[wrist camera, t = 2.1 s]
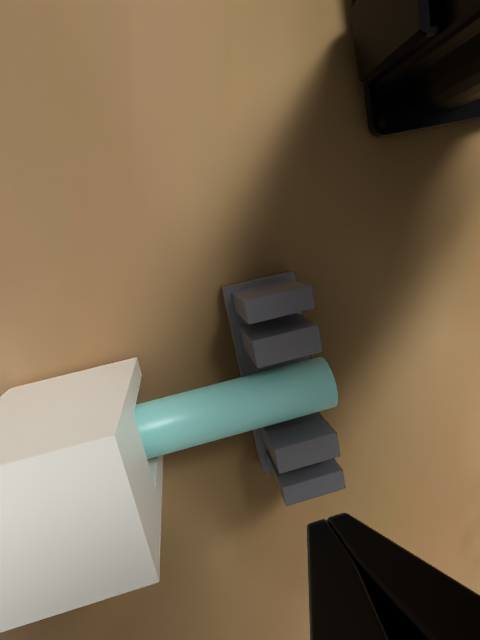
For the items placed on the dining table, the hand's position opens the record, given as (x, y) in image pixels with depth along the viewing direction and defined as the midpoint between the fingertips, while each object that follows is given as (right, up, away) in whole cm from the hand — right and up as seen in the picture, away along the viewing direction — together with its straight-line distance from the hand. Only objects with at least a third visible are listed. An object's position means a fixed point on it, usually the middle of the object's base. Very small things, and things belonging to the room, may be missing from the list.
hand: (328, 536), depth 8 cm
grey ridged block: (0, +2, +10) cm, 10 cm away
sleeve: (-8, 0, +9) cm, 12 cm away
